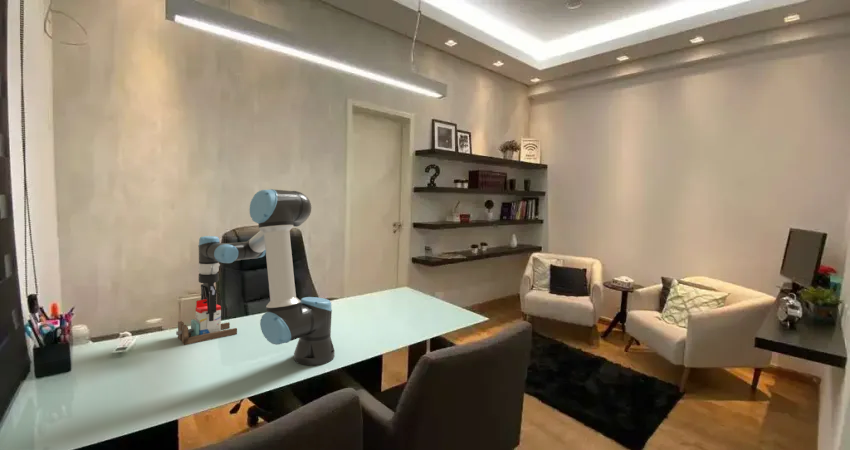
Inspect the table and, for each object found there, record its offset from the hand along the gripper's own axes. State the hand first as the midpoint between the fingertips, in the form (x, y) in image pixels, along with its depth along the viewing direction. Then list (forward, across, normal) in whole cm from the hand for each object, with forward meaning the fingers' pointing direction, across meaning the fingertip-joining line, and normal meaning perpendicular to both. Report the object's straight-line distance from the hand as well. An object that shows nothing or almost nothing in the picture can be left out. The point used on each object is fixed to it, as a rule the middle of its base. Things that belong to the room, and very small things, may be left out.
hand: (208, 325), depth 164 cm
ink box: (+3, 0, 0) cm, 3 cm away
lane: (+4, 0, 0) cm, 4 cm away
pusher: (+4, 0, +8) cm, 9 cm away
